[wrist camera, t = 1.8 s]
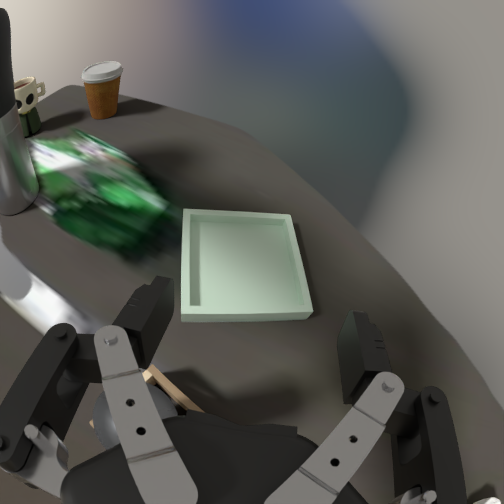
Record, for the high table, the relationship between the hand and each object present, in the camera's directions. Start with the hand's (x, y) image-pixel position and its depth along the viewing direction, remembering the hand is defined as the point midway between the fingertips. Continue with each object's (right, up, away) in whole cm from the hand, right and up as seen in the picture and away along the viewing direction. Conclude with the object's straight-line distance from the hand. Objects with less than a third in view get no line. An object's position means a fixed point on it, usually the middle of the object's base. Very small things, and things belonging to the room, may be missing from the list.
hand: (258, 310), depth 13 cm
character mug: (-52, +30, +37) cm, 70 cm away
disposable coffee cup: (-35, +35, +45) cm, 66 cm away
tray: (-2, 0, +28) cm, 28 cm away
